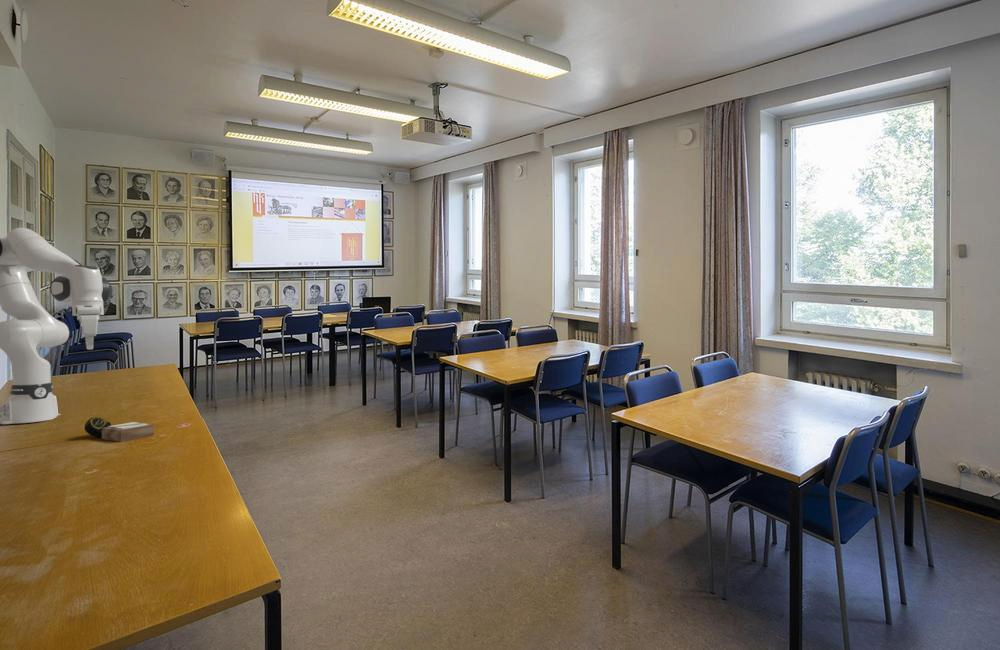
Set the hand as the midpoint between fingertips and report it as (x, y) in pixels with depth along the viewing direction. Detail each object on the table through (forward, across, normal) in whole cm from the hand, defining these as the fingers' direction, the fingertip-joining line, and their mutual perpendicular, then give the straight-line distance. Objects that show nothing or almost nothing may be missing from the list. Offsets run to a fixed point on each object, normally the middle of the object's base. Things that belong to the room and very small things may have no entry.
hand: (89, 349), depth 188 cm
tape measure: (+31, +3, +2) cm, 31 cm away
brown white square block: (+31, +10, +10) cm, 34 cm away
